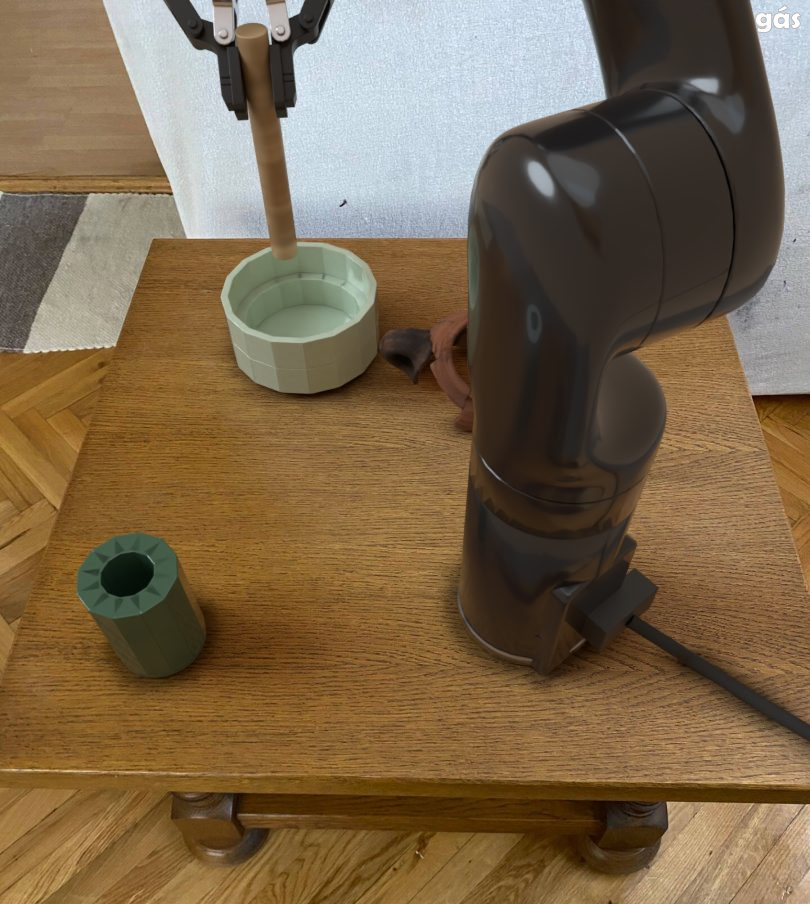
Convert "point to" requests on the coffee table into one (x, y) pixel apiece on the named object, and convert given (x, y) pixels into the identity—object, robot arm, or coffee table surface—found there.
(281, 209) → the stick
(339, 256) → the bowl
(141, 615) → the utensil pot
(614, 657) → the coffee table surface
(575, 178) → the robot arm
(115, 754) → the coffee table surface
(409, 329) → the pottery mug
